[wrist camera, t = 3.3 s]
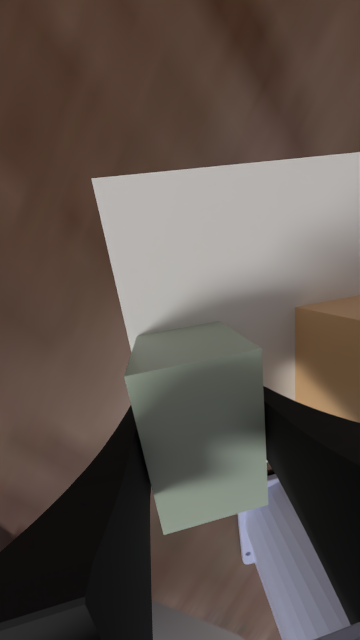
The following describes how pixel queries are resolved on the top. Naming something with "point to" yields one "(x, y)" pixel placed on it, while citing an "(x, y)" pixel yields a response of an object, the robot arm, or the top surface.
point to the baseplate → (235, 248)
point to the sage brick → (200, 422)
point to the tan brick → (329, 357)
